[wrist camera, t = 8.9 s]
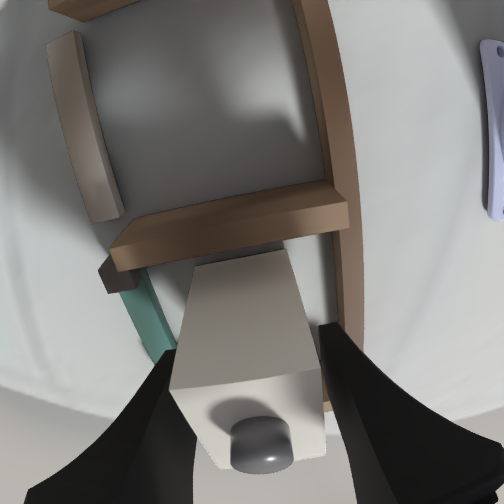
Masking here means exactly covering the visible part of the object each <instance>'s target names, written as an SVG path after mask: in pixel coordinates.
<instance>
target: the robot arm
mask: <svg viewBox="0 0 504 504" xmlns="http://www.w3.org/2000/svg"><path fill="white" fill-rule="evenodd" d="M497 49H498V52H499V55H498V53H497ZM480 53H481V59H482V65H483V72H484V79H485V88H486V97H487V109H488V124H489V192H488V207H487V214H488V216H489V218H491V219H492V220H494V221H502V220H504V210H503V207H504V42H501V41H496V40H492V39H487V40H482V41H481V43H480ZM318 330H319V341H320V352H321V364H322V371H323V376H324V380H325V385H326V389H327V394H328V397H329V400H330V403H331V406H332V409H333V411H334V414H335V417H336V420H337V423H338V426H339V429H340V432H341V435H342V438H343V441H344V444H345V447H346V450H347V454H348V458H349V463H350V468H351V473H352V478H353V483H354V488H355V493H356V499H357V504H495V503H496V502H498V497H497V494H496V492H495V491H496V490H497V489H498V488H499V487H500V486H502V485H503V484H504V448H503V447H502V445H501V444H500V443H498V442H495V441H493V440H490V439H488V438H485V437H482V436H480V435H477V434H475V433H473V432H471V431H469V430H467V429H465V428H463V427H461V426H458V425H456V424H454V423H453V422H451V421H449V420H448V419H446V418H444V417H442V416H441V415H439V414H437V413H436V412H434V411H432V410H431V409H429V408H427V407H426V406H425V405H423V404H422V403H420V402H419V401H417V400H416V399H415V398H413V397H412V396H411V395H409V394H408V393H407V392H405V391H404V390H403V389H402V388H400V387H399V386H398V385H397V384H396V383H394V382H393V381H392V380H391V379H390V378H389V377H388V376H387V375H385V374H384V373H383V372H382V371H381V370H380V369H379V368H378V367H377V366H376V365H375V364H374V363H373V362H372V361H371V360H370V359H369V358H368V357H367V356H366V355H365V354H364V353H363V352H362V351H361V350H360V348H359V347H358V346H357V345H356V344H355V343H354V342H353V340H352V339H351V338H350V337H349V336H348V334H347V333H346V332H345V330H344V329H343V328H342V326H341V325H340V324H339V323H337V322H334V323H330V324H325V325H320V326H318ZM176 350H177V349H170V350H165V352H164V353H163V355H162V356H161V357H160V359H159V360H158V362H157V363H156V365H155V366H154V368H153V369H152V371H151V372H150V374H149V375H148V376H147V378H146V379H145V381H144V382H143V384H142V385H141V387H140V388H139V389H138V391H137V392H136V394H135V395H134V396H133V398H132V399H131V400H130V402H129V403H128V404H127V406H126V407H125V408H124V409H123V411H122V412H121V413H120V415H119V416H118V417H117V418H116V419H115V421H114V422H113V423H112V424H111V425H110V426H109V427H108V429H107V430H106V431H105V432H104V433H103V434H102V435H101V436H100V437H99V438H98V439H97V440H96V441H95V442H94V443H93V444H92V445H90V446H89V447H88V448H87V449H86V450H85V451H84V452H83V453H81V454H80V455H79V456H78V457H77V458H76V459H74V460H73V461H72V462H71V463H69V464H68V465H67V466H65V467H64V468H62V469H61V470H60V471H59V472H57V473H55V474H54V475H52V476H51V477H49V478H47V479H46V480H44V481H43V482H41V483H39V484H37V485H35V486H34V487H32V488H30V489H28V492H27V495H26V498H25V501H24V504H193V466H194V458H195V450H196V442H197V436H196V434H195V432H194V431H193V429H192V428H191V426H190V425H189V423H188V421H187V420H186V418H185V416H184V415H183V413H182V412H181V410H180V408H179V407H178V405H177V403H176V402H175V400H174V398H173V396H172V395H171V393H170V391H169V386H170V380H171V375H172V370H173V365H174V360H175V355H176Z"/></svg>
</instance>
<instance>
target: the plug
mask: <svg viewBox="0 0 504 504" xmlns="http://www.w3.org/2000/svg"><path fill="white" fill-rule="evenodd" d="M169 391H170V393H171V395H172V396H173V398H174V400H175V402H176V403H177V405H178V407H179V408H180V410H181V412H182V413H183V415H184V416H185V418H186V420H187V421H188V423H189V425H190V426H191V428H192V429H193V431H194V432H195V434H196V436H197V437H198V439H199V440H200V442H201V443H202V445H203V446H204V448H205V449H206V451H207V452H208V454H209V455H210V457H211V458H212V460H213V461H214V462H215V464H216V465H217V467H218V468H219V469H232V468H233V469H236V470H238V471H240V472H243V473H248V474H269V473H274V472H278V471H281V470H283V469H285V468H287V467H288V466H290V465H291V464H292V463H293V461H297V460H303V459H309V458H314V457H318V456H323V455H326V444H325V443H326V442H325V423H324V406H323V391H322V378H321V367H320V363H319V360H318V356H317V352H316V349H315V345H314V342H313V338H312V335H311V331H310V327H309V324H308V320H307V317H306V313H305V310H304V307H303V303H302V300H301V296H300V293H299V289H298V286H297V283H296V279H295V276H294V273H293V269H292V266H291V263H290V259H289V256H288V253H287V249H284V250H279V251H273V252H268V253H263V254H258V255H253V256H247V257H242V258H237V259H232V260H226V261H221V262H216V263H211V264H205V265H200V266H195V268H194V273H193V277H192V281H191V286H190V290H189V294H188V299H187V303H186V308H185V312H184V317H183V321H182V326H181V331H180V336H179V340H178V345H177V350H176V355H175V360H174V365H173V370H172V375H171V380H170V386H169Z"/></svg>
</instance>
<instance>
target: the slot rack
mask: <svg viewBox="0 0 504 504" xmlns="http://www.w3.org/2000/svg"><path fill="white" fill-rule="evenodd" d="M137 1H140V0H48V6H49V10H52V11H55V12H57V13H60V14H63V15H66V16H68V17H71V18H74V19H76V20H79V21H81V22H84V23H85V22H87V21H89V20H92V19H94V18H96V17H99V16H101V15H103V14H106V13H108V12H111V11H113V10H116V9H118V8H121V7H123V6H126V5H129V4H132V3H134V2H137ZM292 2H293V6H294V10H295V14H296V18H297V22H298V26H299V31H300V35H301V40H302V44H303V49H304V54H305V58H306V63H307V68H308V73H309V78H310V84H311V89H312V94H313V100H314V106H315V111H316V117H317V123H318V129H319V136H320V142H321V149H322V156H323V163H324V170H325V178H326V180H321V181H315V182H309V183H303V184H297V185H292V186H286V187H280V188H275V189H270V190H264V191H259V192H254V193H249V194H244V195H239V196H234V197H229V198H224V199H219V200H215V201H210V202H205V203H201V204H196V205H191V206H187V207H183V208H178V209H174V210H169V211H165V212H161V213H157V214H152V215H148V216H144V217H140V218H136V219H133V220H132V221H131V222H130V223H129V225H128V226H127V227H126V228H125V229H124V231H123V232H122V233H121V234H120V236H119V237H118V238H117V239H116V241H115V242H114V243H113V244H112V246H111V247H110V248H109V251H110V254H109V256H108V257H107V259H106V260H105V261H104V263H103V264H102V265H101V267H100V268H99V269H98V272H99V275H100V277H101V279H102V282H103V284H104V286H105V288H106V290H107V293H108V294H111V293H117V292H119V293H120V296H121V298H122V300H123V302H124V304H125V307H126V309H127V311H128V313H129V315H130V317H131V319H132V321H133V323H134V326H135V328H136V330H137V332H138V334H139V336H140V338H141V340H142V342H143V344H144V346H145V348H146V349H147V351H148V353H149V355H150V357H151V359H152V361H153V363H154V365H156V363H157V362H158V360H159V359H160V357H161V356H162V355H163V353H164V352H165V350H170V349H177V344H176V342H175V340H174V337H173V335H172V333H171V331H170V328H169V326H168V324H167V321H166V319H165V317H164V314H163V312H162V309H161V307H160V304H159V302H158V300H157V297H156V295H155V292H154V290H153V287H152V285H151V282H150V279H149V277H148V274H147V272H146V269H145V267H147V266H152V265H157V264H162V263H167V262H172V261H178V260H183V259H188V258H193V257H198V256H203V255H209V254H214V253H219V252H224V251H230V250H235V249H240V248H245V247H251V246H256V245H261V244H266V243H272V242H277V241H282V240H287V239H293V238H298V237H303V236H309V235H314V234H319V233H325V232H330V231H332V240H333V250H334V262H335V275H336V289H337V305H338V323H339V324H340V325H341V326H342V328H343V329H344V330H345V332H346V333H347V334H348V336H349V337H350V338H351V339H352V340H353V342H354V343H355V344H356V345H357V346H358V347H359V348H360V350H361V351H362V352H363V344H364V263H363V239H362V221H361V206H360V194H359V182H358V172H357V162H356V154H355V145H354V137H353V130H352V122H351V115H350V109H349V102H348V96H347V90H346V84H345V79H344V73H343V68H342V63H341V58H340V53H339V48H338V43H337V38H336V34H335V30H334V25H333V21H332V17H331V13H330V9H329V5H328V1H327V0H292ZM46 52H47V58H48V64H49V70H50V75H51V81H52V86H53V91H54V96H55V100H56V105H57V109H58V114H59V118H60V122H61V126H62V130H63V134H64V138H65V142H66V145H67V149H68V153H69V156H70V160H71V163H72V166H73V170H74V173H75V176H76V180H77V183H78V186H79V189H80V192H81V195H82V198H83V201H84V204H85V207H86V210H87V213H88V216H89V218H90V221H91V224H92V225H93V224H97V223H101V222H104V221H108V220H112V219H116V218H120V217H121V216H122V215H123V213H124V212H125V210H124V206H123V203H122V200H121V197H120V194H119V191H118V187H117V184H116V181H115V178H114V174H113V171H112V167H111V164H110V160H109V157H108V153H107V150H106V146H105V142H104V139H103V135H102V131H101V127H100V123H99V119H98V115H97V111H96V106H95V102H94V98H93V93H92V89H91V84H90V79H89V74H88V70H87V64H86V59H85V54H84V48H83V42H82V36H81V33H80V32H77V31H74V30H73V31H71V32H69V33H67V34H65V35H63V36H61V37H59V38H57V39H55V40H54V41H52V42H50V43H48V44H46ZM319 363H320V367H321V378H322V391H323V406H324V412H328V411H333V409H332V406H331V403H330V400H329V397H328V394H327V389H326V385H325V380H324V376H323V371H322V364H321V361H319Z"/></svg>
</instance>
